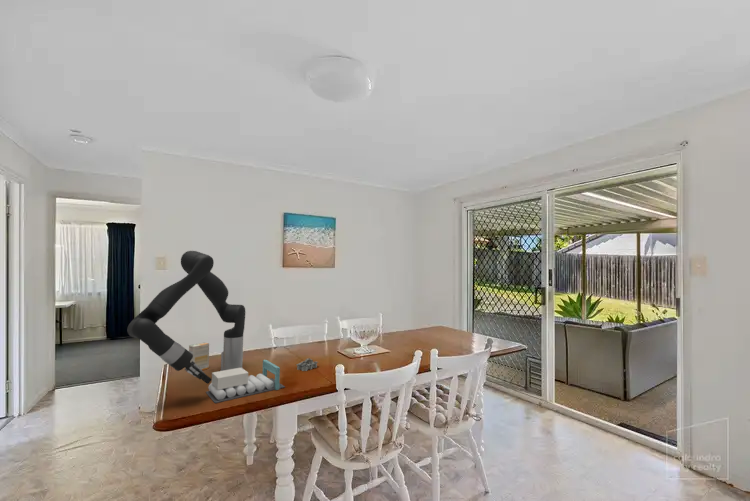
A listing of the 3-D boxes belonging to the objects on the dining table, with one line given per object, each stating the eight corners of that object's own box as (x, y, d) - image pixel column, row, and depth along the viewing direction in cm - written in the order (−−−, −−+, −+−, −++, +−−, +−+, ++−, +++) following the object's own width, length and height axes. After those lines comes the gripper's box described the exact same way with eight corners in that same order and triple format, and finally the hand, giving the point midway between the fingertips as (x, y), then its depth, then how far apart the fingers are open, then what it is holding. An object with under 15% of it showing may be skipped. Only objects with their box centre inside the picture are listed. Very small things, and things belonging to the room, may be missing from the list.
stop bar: (275, 390, 149) (276, 368, 149) (262, 380, 161) (262, 360, 161) (279, 389, 150) (279, 367, 150) (265, 379, 162) (266, 359, 162)
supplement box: (203, 367, 179) (204, 341, 180) (208, 369, 176) (209, 343, 177) (187, 371, 172) (188, 344, 173) (192, 373, 170) (193, 346, 170)
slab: (217, 389, 137) (218, 378, 137) (211, 383, 144) (211, 372, 144) (248, 383, 144) (248, 372, 144) (240, 377, 151) (241, 367, 151)
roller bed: (214, 403, 134) (215, 392, 134) (205, 392, 144) (206, 382, 145) (284, 387, 152) (285, 378, 152) (272, 379, 163) (272, 370, 163)
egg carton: (310, 365, 188) (310, 357, 188) (319, 367, 183) (319, 359, 183) (294, 369, 179) (294, 361, 179) (303, 372, 175) (304, 364, 175)
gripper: (187, 351, 128) (221, 378, 136) (180, 344, 139) (212, 369, 146) (170, 368, 125) (206, 394, 132) (165, 359, 135) (198, 384, 142)
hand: (209, 381), depth 139 cm, fingers closed
